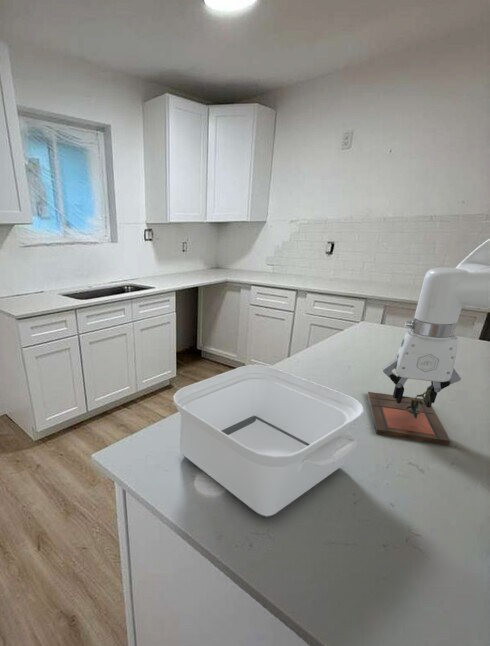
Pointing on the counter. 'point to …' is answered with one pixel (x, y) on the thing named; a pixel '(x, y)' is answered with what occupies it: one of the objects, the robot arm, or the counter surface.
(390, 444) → the counter surface
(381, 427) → the board
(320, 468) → the white storage bin
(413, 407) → the dark green branching piece
